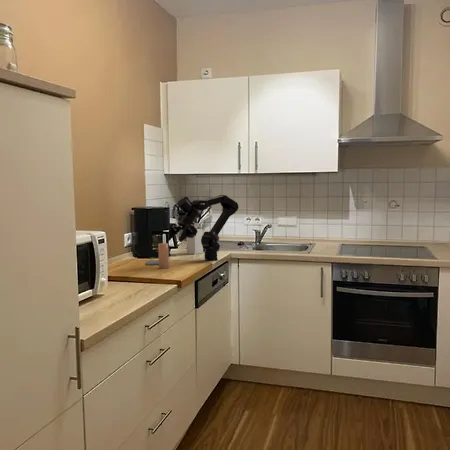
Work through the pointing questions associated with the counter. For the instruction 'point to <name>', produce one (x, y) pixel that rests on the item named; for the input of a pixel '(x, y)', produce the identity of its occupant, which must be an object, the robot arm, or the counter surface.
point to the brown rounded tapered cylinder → (163, 256)
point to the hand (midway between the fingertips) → (173, 241)
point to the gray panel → (153, 262)
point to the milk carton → (195, 242)
